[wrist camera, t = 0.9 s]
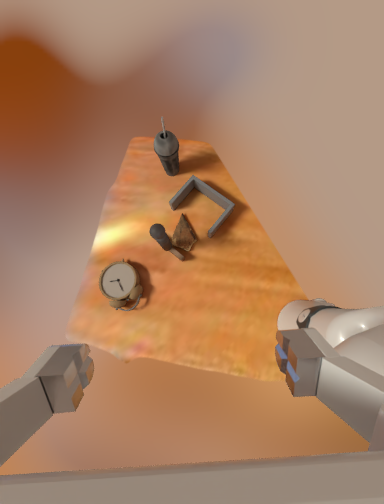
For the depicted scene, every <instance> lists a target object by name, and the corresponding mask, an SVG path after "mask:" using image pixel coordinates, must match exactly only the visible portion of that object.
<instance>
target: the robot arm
mask: <svg viewBox="0 0 384 504" xmlns="http://www.w3.org/2000/svg"><path fill="white" fill-rule="evenodd" d="M276 339H277V341H278V344H277V346H276V347H275V356H276V361H277V364H278V367H279V369H280V371H281V372H283V373H284V374H285V375H286V383H287V385H288V387H289V389H290V391H291V393H292V395H293V396H294V397H298V396H299V397H300V396H316V397H317V398H318V399H319V400H320V401H321V402H322V403H324V404H325V405H326V406H327V407H328V408H329V409H331V410H332V411H333V412H334V413H335V414H336V415H338V416H339V417H340V418H341V419H342V420H343V421H345V422H346V423H347V424H348V425H349V426H350V427H352V428H353V429H354V430H355V431H356V432H358V433H359V434H360V435H361V436H362V437H363V438H364V439H366V440H367V441H368V442H369V443H370V445H369V448H368V451H367V452H353V453H337V454H323V455H307V456H291V457H276V458H261V459H247V460H230V461H216V462H200V463H187V464H186V463H185V464H171V465H156V466H139V467H124V468H109V469H93V470H79V471H62V472H46V473H31V474H16V475H1V476H0V504H384V306H380V307H373V308H366V309H342V308H338V307H335V305H334V304H331V303H327V302H326V301H325V300H324V299H320V298H317V299H314V300H310V301H309V300H296V301H293V302H290V303H288V304H287V305H286V306H285V307H284V308H283V309H282V310H281V312H280V314H279V317H278V331H277V333H276ZM89 352H90V349H89V346H88V345H87V344H70V345H52V346H50V347H48V348H47V349H46V350H45V351H44V352H43V354H41V356H40V357H39V358H38V359H37V360H36V361H35V363H34V364H33V365H32V366H31V367H30V368H29V369H28V371H27V372H26V373H25V374H24V375H23V376H22V377H21V378H18V379H15V380H14V381H12V382H10V383H9V384H7V385H6V386H4V387H2V388H1V389H0V466H1V465H3V464H4V462H6V461H7V460H8V459H9V458H10V457H11V456H12V455H13V454H14V453H15V452H16V451H17V450H18V449H19V448H20V447H21V446H22V445H23V444H24V443H25V442H26V441H27V440H28V439H29V438H30V437H31V436H32V435H33V434H34V433H35V432H36V431H37V430H38V429H39V428H40V427H41V426H42V425H43V424H44V423H45V422H46V421H47V420H48V419H50V418H51V417H52V416H53V414H54V413H64V412H74V411H76V409H77V407H78V406H79V404H80V401H81V399H82V398H83V396H84V393H83V389H84V388H85V387H86V386H87V385H89V383H90V381H91V379H92V377H93V372H94V364H93V360H92V359H91V358H90V357H89V356H88V354H89Z"/></svg>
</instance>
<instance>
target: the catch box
mask: <svg viewBox="0 0 384 504" xmlns="http://www.w3.org/2000/svg"><path fill="white" fill-rule="evenodd" d="M193 188H196V189H197V190H198V191H200V192H201V193H203V194H204V195H206V196H207V197H208V198H210V199H211V200H213V201H214V202H215V203H217V204H218V205H220V206H221V207H222V208H224V209H225V211H224V213H223V214H222V215H221V216H220V218H219V219H218V220H217V221H216V222H215V224H214V225H213V226H212V227H211V228H210V230H209V231H208V237H209V238H211V237H212V236H213V234H214V233H215V232H216V231H217V229H218V228H219V227H220V226H221V225H222V223H223V222H224V221H225V220H226V219H227V217H228V216H229V215H230V214H231V212H232V211H233V208H234V205H235V204H234V203H232V202H231V201H230V200H228V199H227V198H225V197H224V196H222V195H221V194H220V193H218V192H217V191H215V190H214V189H212V188H211V187H210V186H208V185H207V184H205V183H204V182H202V181H201V180H200V179H198V178H197V177H195V176H194V175H192V177H191V178H190V179H189V180H188V181H187V182H186V183H185V184H184V186H183V187H182V188H181V189H180V190H179V191H178V192H177V193H176V195H175V196H174V197H173V198H172V199H171V200H170V201H169V204H170V206H171V209H172V210H173V211H174V210H175V209H176V208H177V206H178V205H179V204H180V203H181V202H182V201H183V200H184V198H185V197H186V196H187V195H188V194H189V193H190V192H191V190H192V189H193Z"/></svg>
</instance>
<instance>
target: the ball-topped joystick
mask: <svg viewBox="0 0 384 504" xmlns="http://www.w3.org/2000/svg"><path fill="white" fill-rule="evenodd" d="M150 235H151V236H152V237H153V238H154V239H155V240H156V241H157V242H158V243H159V244H160V245H161V247H162V248H163V249H164V250H166V251H170V252H171V253H172V254H174V255H175V256H176V257H177V258H179V259H180V260H181V261H182V262H183V260H184V259H185V257H184V256H183V255H181V254H180V253H179V252H178V251H176V250H175V249H174V248H173V247H172V243H171V241H170V239H169V238H168V236H167V234H166V232H165V228H164V227H163V226H162V225H161V224H154V225H152V226H151V228H150Z"/></svg>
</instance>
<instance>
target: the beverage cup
mask: <svg viewBox="0 0 384 504" xmlns="http://www.w3.org/2000/svg"><path fill="white" fill-rule="evenodd" d="M161 120H162V126H163V131H161V132H159V133H158V134H157V135H156V137H155V139H154V150H155V152H156V154H157V155H158V156H159V158H160V161H161V163H162V165H163V167H164V169H165V171H166V173H167V174H168V175H169V176H175V175H176V174H177V173H178V172H179V158H178V150H179V142H178V140H177V138H176V137H175V135H174V134H173V133H171V132H170V131H165V127H164V121H163V117H161Z"/></svg>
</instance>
